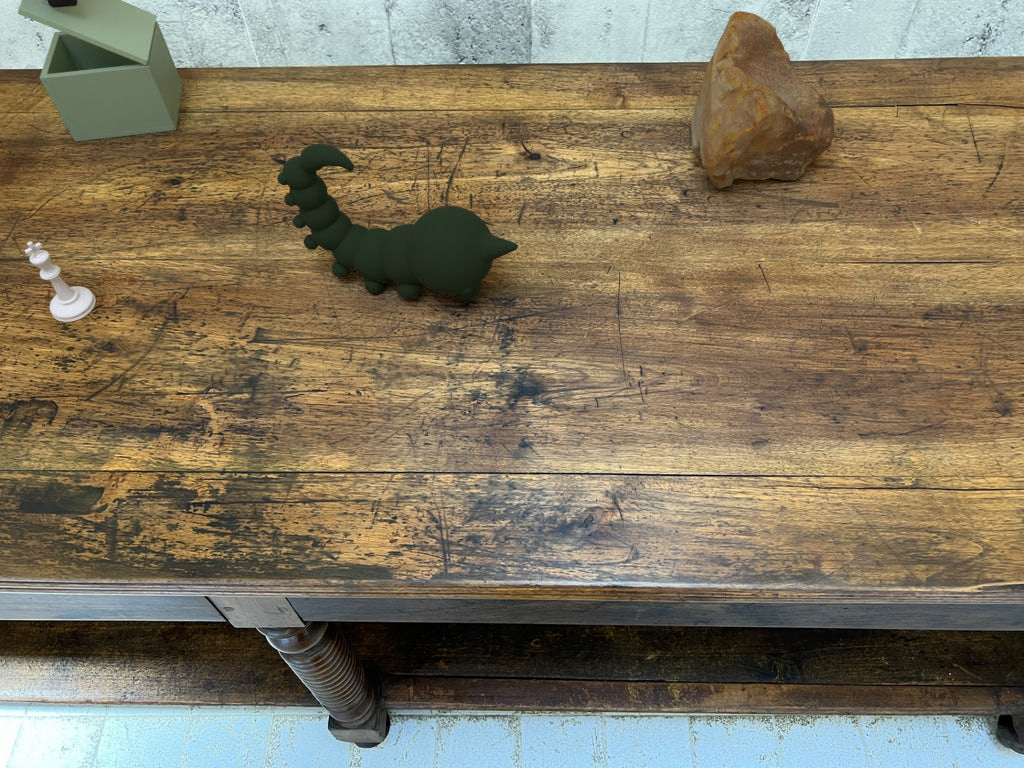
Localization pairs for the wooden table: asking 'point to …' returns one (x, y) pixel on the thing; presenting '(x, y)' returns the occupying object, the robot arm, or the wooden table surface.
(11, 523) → the wooden table surface
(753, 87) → the rough brown rock
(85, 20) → the bin lid
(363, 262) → the toy figurine
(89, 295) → the chess piece
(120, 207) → the wooden table surface
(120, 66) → the bin
